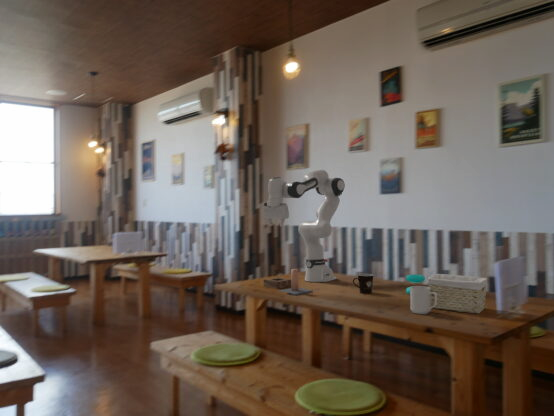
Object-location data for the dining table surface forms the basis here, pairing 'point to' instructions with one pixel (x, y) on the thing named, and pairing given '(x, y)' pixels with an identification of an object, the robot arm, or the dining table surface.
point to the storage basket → (458, 292)
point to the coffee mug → (365, 283)
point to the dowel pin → (294, 279)
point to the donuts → (414, 280)
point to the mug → (421, 299)
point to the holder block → (277, 283)
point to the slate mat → (300, 291)
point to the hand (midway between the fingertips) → (276, 226)
